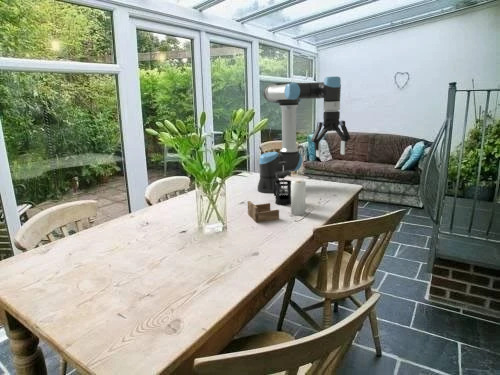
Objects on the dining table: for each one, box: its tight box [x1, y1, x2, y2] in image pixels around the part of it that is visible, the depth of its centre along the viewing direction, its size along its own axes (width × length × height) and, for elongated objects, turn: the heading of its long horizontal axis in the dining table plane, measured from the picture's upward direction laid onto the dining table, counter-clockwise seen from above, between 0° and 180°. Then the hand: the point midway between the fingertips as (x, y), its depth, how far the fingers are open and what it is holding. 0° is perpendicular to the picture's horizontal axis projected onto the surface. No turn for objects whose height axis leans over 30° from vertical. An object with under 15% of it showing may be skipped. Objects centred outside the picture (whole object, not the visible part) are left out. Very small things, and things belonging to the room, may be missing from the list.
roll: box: [290, 180, 306, 216], centre depth 167 cm, size 7×7×16 cm
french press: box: [273, 162, 293, 206], centre depth 184 cm, size 12×9×23 cm
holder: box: [247, 200, 280, 223], centre depth 165 cm, size 12×12×7 cm
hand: (330, 155), depth 165 cm, fingers open, 13 cm apart
